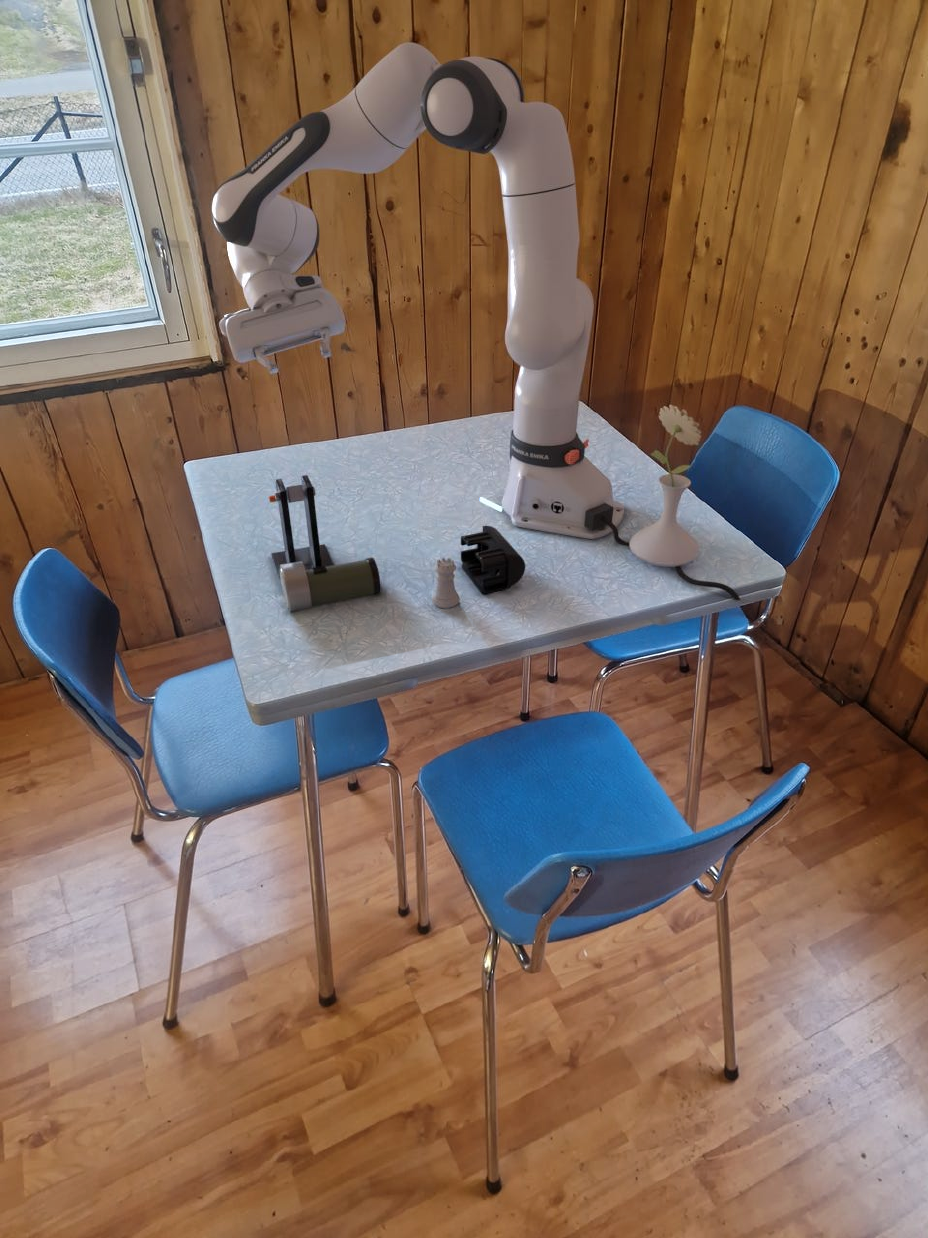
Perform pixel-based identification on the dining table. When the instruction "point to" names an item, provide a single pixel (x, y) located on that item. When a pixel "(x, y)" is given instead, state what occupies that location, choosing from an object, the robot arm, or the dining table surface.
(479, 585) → the end cap
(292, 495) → the switch lever
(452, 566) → the rook chess piece
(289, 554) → the black lever stand
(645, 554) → the flower in vase
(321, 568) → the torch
